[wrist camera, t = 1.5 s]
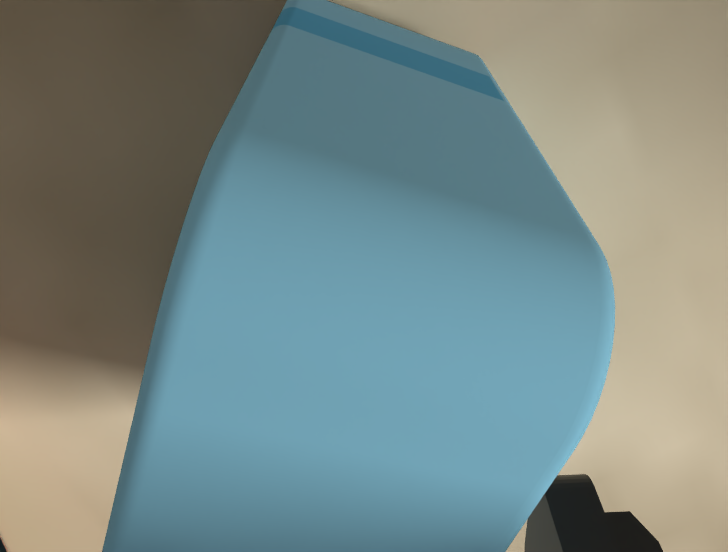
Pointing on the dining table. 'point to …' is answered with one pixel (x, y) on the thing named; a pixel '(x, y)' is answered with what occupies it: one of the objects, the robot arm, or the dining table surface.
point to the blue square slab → (365, 312)
